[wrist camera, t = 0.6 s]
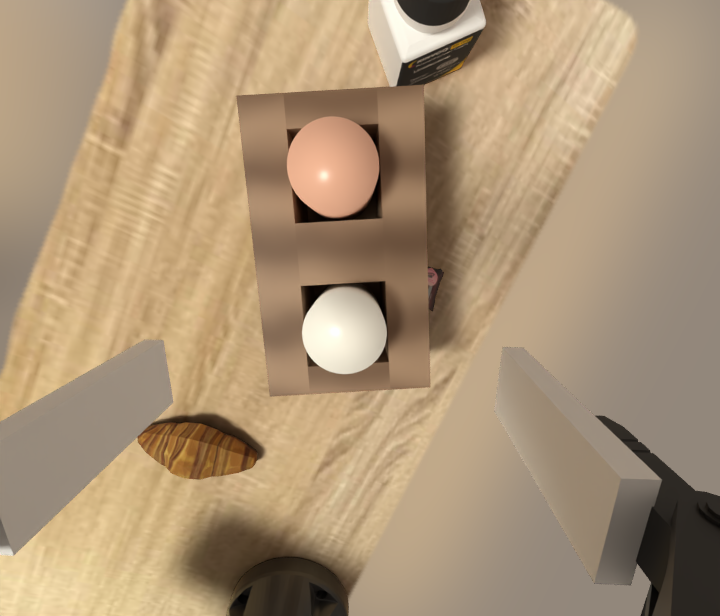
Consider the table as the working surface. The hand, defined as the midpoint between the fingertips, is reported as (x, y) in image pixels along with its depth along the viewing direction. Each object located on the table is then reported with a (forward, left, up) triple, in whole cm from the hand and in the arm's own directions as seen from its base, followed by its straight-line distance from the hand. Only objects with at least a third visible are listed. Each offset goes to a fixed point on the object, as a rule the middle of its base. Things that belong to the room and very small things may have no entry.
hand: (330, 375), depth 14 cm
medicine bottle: (+23, -8, -25) cm, 35 cm away
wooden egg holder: (+4, 0, -25) cm, 25 cm away
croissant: (-17, +18, -25) cm, 35 cm away
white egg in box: (-2, 0, -21) cm, 21 cm away
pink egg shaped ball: (+10, 0, -21) cm, 23 cm away
